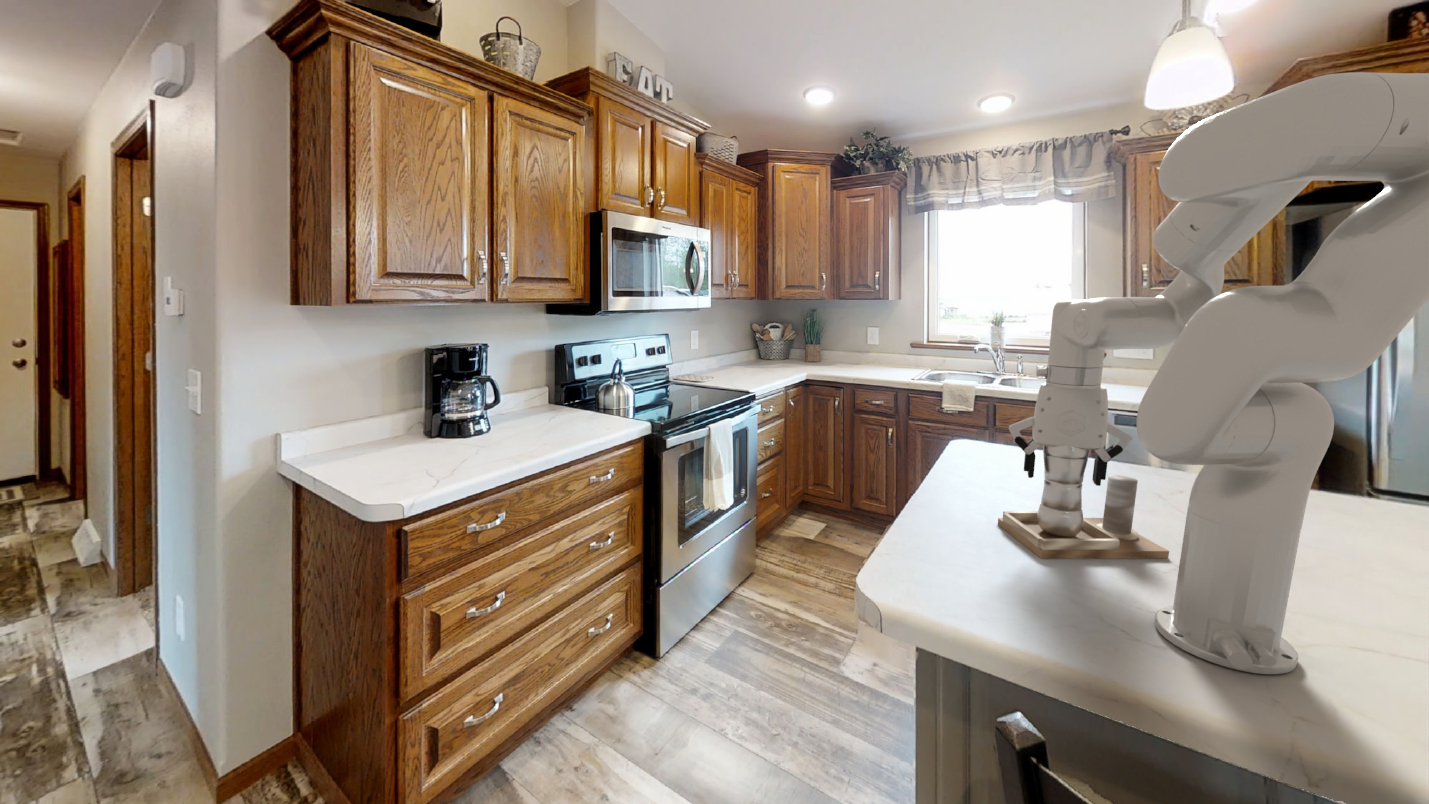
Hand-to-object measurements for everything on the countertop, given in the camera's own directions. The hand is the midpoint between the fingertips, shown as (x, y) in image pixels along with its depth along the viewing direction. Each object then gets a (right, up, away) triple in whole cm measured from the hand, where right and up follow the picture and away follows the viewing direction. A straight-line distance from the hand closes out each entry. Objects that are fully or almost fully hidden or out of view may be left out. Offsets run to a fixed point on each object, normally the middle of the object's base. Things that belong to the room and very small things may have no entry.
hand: (1062, 479), depth 95 cm
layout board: (+3, -11, +2) cm, 11 cm away
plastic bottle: (0, -10, +1) cm, 10 cm away
